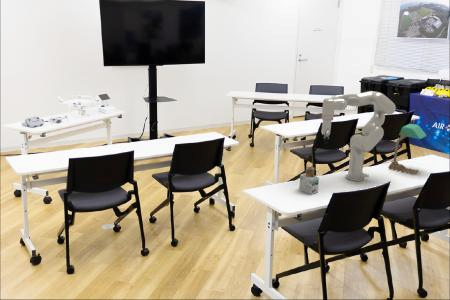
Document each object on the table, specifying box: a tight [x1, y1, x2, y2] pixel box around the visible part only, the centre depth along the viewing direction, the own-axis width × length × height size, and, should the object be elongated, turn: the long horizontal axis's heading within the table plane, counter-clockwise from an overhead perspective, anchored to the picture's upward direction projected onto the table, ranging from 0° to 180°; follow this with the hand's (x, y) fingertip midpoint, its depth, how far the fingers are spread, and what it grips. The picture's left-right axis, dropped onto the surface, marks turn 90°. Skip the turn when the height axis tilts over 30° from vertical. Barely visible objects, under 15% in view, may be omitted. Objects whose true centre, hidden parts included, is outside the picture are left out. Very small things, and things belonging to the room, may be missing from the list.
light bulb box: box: [298, 172, 320, 195], centre depth 291 cm, size 11×7×11 cm, turn 40°
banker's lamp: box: [387, 123, 427, 175], centre depth 334 cm, size 16×21×35 cm
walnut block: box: [305, 166, 315, 177], centre depth 289 cm, size 5×5×5 cm
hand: (325, 142), depth 302 cm, fingers open, 9 cm apart
